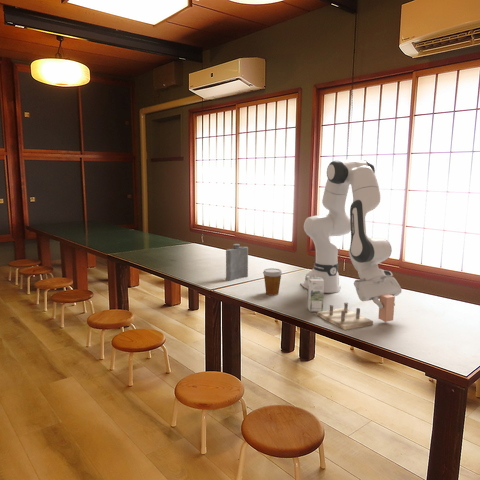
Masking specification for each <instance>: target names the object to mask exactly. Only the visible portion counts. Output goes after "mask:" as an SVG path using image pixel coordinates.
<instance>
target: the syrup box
mask: <svg viewBox="0 0 480 480" xmlns="http://www.w3.org/2000/svg"><path fill="white" fill-rule="evenodd" d="M324 294H325V293H324V280H323V279H322V278H321V277H309V279H308V289H307V309H308V311H309V312H310V313H317V312H321V311H324V310H323V309H324Z"/></svg>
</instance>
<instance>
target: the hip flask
mask: <svg viewBox="0 0 480 480" xmlns="http://www.w3.org/2000/svg"><path fill="white" fill-rule="evenodd" d="M232 246H233V248H229V249H228V248H227V249H226V250H225V281H226V282H232V281H235V280H239V279H242V278H243V279H244V278H248V276H249V247H248V246H240V243H233V245H232Z"/></svg>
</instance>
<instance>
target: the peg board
mask: <svg viewBox="0 0 480 480" xmlns="http://www.w3.org/2000/svg"><path fill="white" fill-rule="evenodd" d="M343 304H344V305H343V306H344V307H340V308H334V305H333V304H330V305H329V309H327V310H323V311H321V312H316V313H317V314H316V315H317V316H318V317H320V318H322V319H324V320H325V321H327V322H329V323H331V324H333V325H334V326H336V327H338V328H340V329H342V330H344V331H347V330H351V329H358V328H361V327H367V326H373V323H374V321H373V320H371V319H370V318H367V317H365V316H363V315H361V308H360V307H357V308H356V311H352V310H350V309H348V305H349V303H348V302H344V303H343Z"/></svg>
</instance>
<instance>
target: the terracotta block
mask: <svg viewBox="0 0 480 480" xmlns="http://www.w3.org/2000/svg"><path fill="white" fill-rule="evenodd" d="M395 300H396V296H392V295H390V294H385V295H381V296H380V299H379V301H380V302H381V303H383V304H384V306H385V307H384V308H382V309H380V308H379V307H378V316H377V317H378V320H381V321H383V322H385V323H387V322H392V321H394V315H395V313H394V312H395V306H394V303H395Z"/></svg>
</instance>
